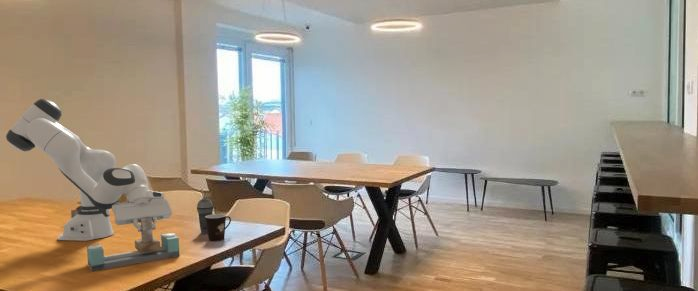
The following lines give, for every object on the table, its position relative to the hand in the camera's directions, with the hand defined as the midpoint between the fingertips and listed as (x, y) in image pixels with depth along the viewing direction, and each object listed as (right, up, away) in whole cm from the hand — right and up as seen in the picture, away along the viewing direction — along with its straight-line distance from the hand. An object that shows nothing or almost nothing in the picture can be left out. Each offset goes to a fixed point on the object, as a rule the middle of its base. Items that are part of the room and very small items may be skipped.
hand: (147, 229), depth 191 cm
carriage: (0, -7, +1) cm, 7 cm away
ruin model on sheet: (-59, -8, +68) cm, 90 cm away
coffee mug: (+20, -9, +28) cm, 36 cm away
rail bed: (-4, -11, -1) cm, 12 cm away
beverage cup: (+11, -8, +40) cm, 42 cm away
